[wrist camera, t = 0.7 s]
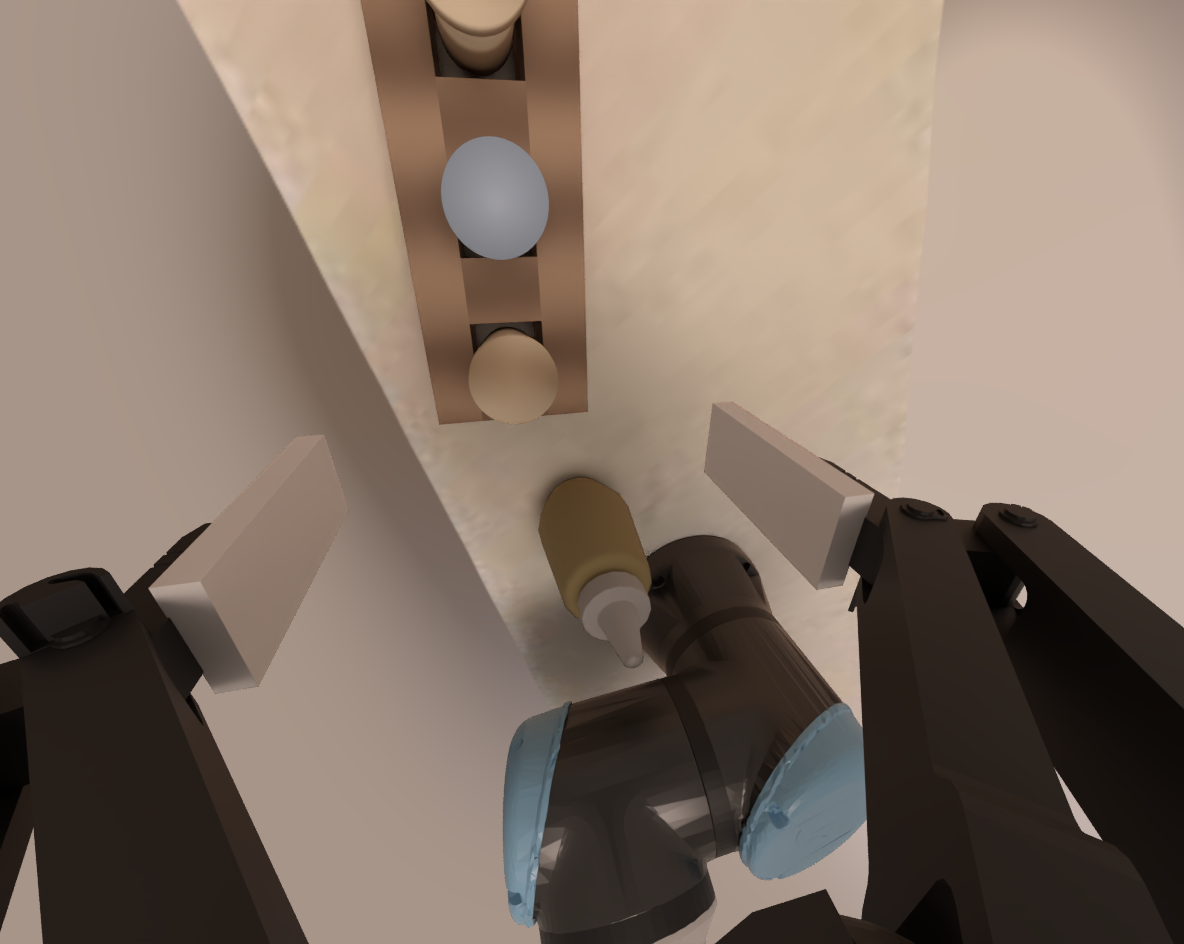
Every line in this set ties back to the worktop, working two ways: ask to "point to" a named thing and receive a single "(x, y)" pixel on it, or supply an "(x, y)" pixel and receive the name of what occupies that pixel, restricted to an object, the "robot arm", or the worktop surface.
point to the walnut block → (418, 158)
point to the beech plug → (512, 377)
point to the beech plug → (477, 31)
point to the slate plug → (494, 198)
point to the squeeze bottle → (598, 563)
